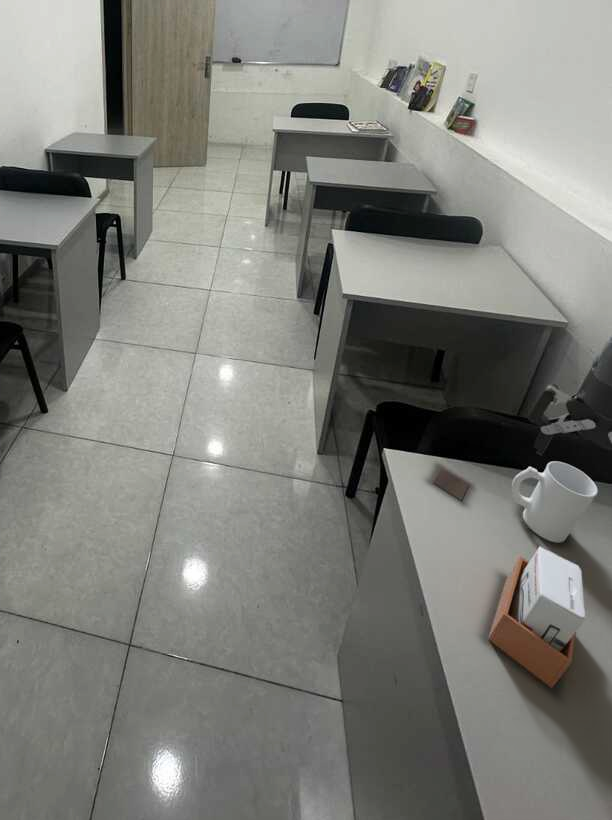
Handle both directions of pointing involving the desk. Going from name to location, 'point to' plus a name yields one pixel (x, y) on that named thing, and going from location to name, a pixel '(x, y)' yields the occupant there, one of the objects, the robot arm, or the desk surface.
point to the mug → (555, 499)
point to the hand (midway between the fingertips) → (576, 472)
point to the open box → (527, 638)
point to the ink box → (549, 598)
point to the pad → (451, 484)
